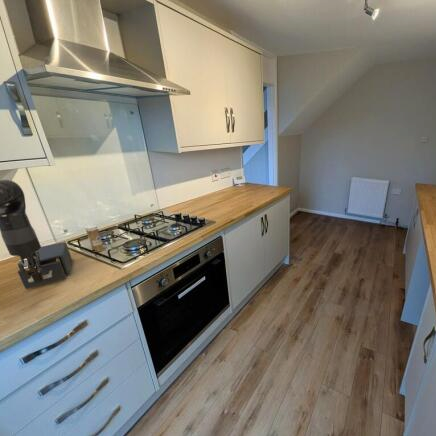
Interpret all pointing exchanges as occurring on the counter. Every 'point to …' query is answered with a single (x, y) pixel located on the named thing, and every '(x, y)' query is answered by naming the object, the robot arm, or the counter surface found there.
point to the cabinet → (55, 255)
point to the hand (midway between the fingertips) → (39, 281)
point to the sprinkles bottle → (94, 238)
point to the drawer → (45, 273)
